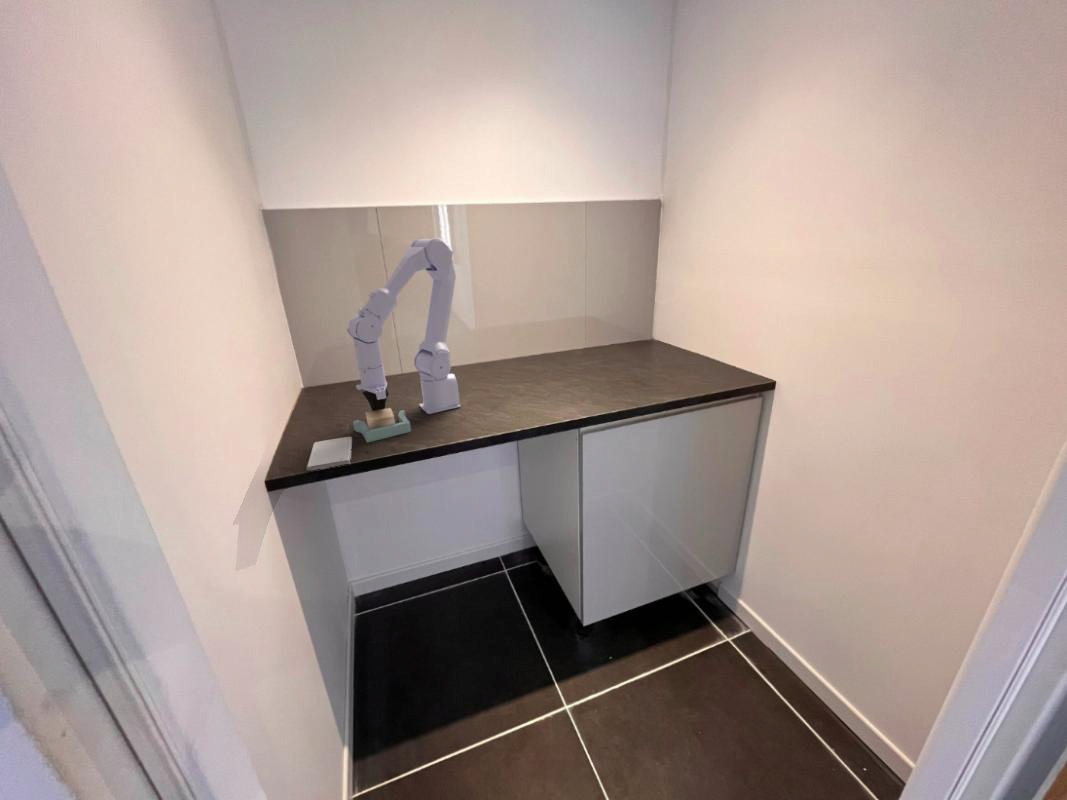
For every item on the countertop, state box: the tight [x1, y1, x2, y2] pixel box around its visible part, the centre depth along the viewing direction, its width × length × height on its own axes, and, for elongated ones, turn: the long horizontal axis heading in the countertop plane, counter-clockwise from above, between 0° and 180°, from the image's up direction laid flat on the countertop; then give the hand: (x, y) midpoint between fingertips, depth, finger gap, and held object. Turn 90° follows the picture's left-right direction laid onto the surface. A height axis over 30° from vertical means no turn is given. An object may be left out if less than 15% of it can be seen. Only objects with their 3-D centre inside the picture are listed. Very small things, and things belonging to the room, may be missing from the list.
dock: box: [352, 409, 412, 443], centre depth 103 cm, size 13×9×2 cm
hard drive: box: [306, 436, 353, 471], centre depth 92 cm, size 2×8×12 cm
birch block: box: [365, 407, 396, 430], centre depth 102 cm, size 6×6×4 cm
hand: (379, 417), depth 106 cm, fingers closed
